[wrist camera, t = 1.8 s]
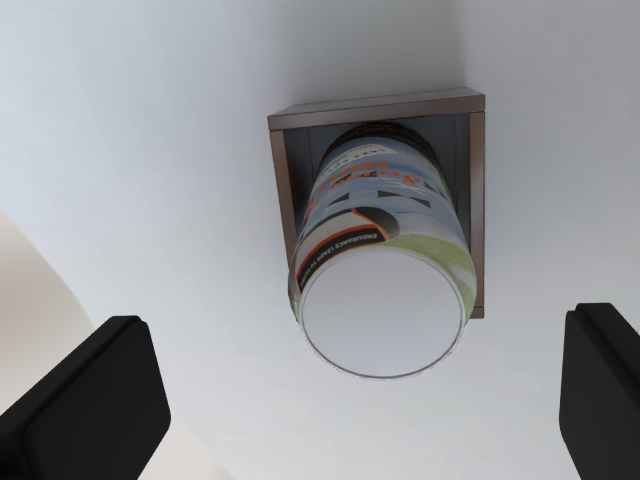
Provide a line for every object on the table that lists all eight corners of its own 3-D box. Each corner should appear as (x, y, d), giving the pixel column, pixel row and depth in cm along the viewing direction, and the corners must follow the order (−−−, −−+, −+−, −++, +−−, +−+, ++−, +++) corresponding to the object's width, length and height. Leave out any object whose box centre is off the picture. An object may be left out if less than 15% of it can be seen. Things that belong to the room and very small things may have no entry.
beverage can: (404, 94, 23) (405, 127, 12) (473, 223, 25) (532, 358, 14) (295, 160, 25) (210, 241, 14) (366, 275, 27) (340, 430, 15)
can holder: (292, 105, 24) (266, 116, 19) (468, 87, 22) (485, 94, 18) (314, 277, 27) (295, 322, 22) (469, 272, 26) (484, 319, 21)
